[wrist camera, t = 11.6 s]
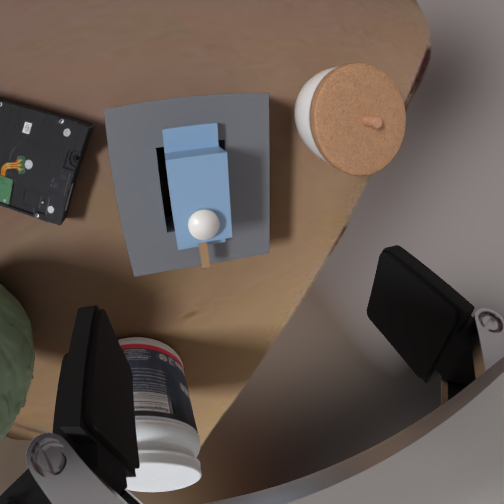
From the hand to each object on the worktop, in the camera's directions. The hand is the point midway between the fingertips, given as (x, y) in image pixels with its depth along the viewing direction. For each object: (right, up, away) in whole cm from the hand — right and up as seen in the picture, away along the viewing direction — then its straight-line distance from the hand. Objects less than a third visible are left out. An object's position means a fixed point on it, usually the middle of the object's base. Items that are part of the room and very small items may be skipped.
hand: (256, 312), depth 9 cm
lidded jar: (+8, +17, +20) cm, 28 cm away
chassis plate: (-6, +9, +19) cm, 23 cm away
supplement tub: (-16, -14, +29) cm, 36 cm away
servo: (-6, +9, +19) cm, 23 cm away
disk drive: (-24, +12, +13) cm, 29 cm away
